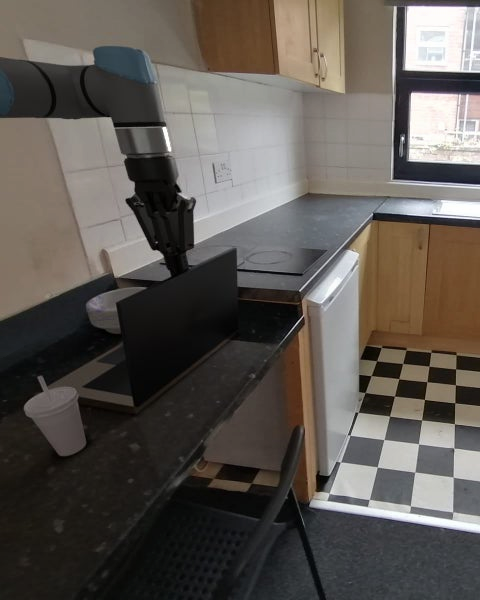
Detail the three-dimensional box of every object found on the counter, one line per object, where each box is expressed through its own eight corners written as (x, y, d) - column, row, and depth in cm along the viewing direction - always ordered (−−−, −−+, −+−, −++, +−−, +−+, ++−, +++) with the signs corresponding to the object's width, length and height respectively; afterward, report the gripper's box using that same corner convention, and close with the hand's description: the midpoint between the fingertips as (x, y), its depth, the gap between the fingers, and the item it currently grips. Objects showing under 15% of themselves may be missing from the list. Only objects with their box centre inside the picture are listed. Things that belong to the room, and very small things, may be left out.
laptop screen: (114, 302, 62) (119, 303, 62) (233, 247, 88) (236, 248, 88) (133, 406, 71) (137, 407, 71) (235, 328, 98) (238, 329, 98)
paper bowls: (176, 321, 105) (168, 293, 102) (112, 346, 94) (101, 316, 90) (146, 308, 113) (139, 281, 110) (84, 329, 101) (73, 300, 98)
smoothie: (47, 469, 61) (9, 394, 55) (46, 445, 65) (11, 373, 59) (98, 449, 64) (68, 376, 59) (94, 427, 69) (66, 358, 63)
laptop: (45, 397, 77) (41, 389, 76) (164, 325, 103) (162, 319, 102) (136, 414, 72) (133, 405, 71) (236, 334, 98) (235, 327, 98)
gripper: (197, 153, 69) (224, 281, 79) (135, 154, 72) (168, 276, 82) (164, 157, 63) (198, 296, 72) (97, 157, 65) (138, 290, 75)
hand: (182, 285), depth 77 cm, fingers closed
